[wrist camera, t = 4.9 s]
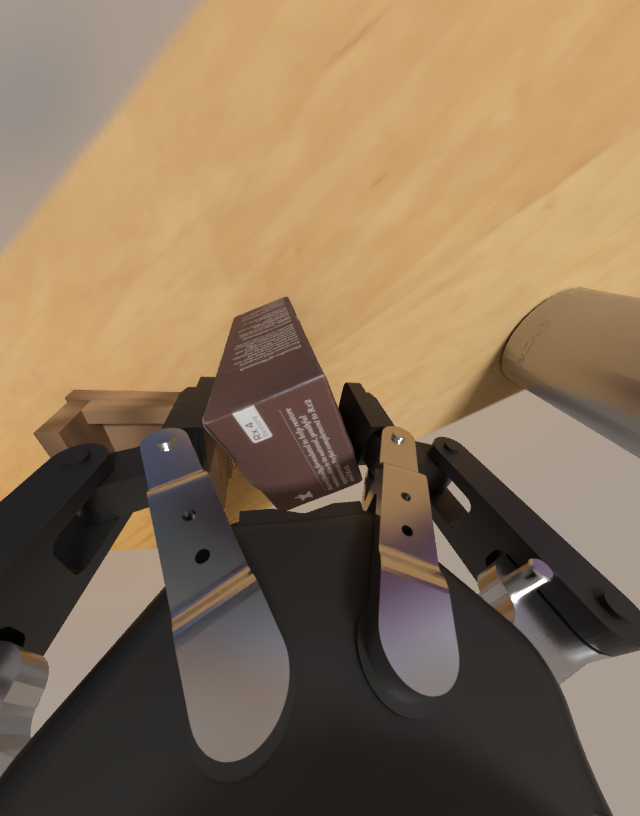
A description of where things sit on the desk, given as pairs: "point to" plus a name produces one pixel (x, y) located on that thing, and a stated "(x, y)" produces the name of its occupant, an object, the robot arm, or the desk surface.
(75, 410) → the drawer
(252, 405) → the box
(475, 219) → the desk surface
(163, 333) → the desk surface
